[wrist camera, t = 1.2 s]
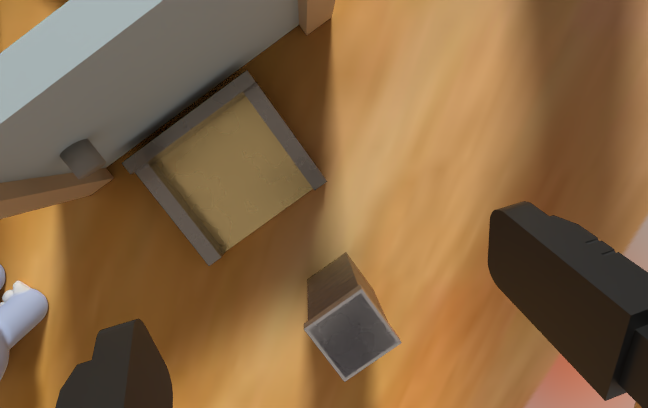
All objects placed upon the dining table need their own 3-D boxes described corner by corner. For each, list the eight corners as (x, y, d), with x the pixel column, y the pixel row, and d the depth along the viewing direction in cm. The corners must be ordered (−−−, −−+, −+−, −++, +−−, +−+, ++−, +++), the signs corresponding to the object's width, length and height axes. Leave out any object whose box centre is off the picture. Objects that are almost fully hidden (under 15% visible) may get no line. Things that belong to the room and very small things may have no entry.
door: (301, -28, 34) (297, -237, 15) (336, 23, 35) (373, -115, 16) (57, 154, 35) (-229, 172, 16) (95, 201, 36) (-138, 270, 17)
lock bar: (346, 249, 37) (361, 288, 27) (376, 289, 38) (401, 342, 28) (304, 279, 37) (303, 329, 28) (334, 318, 38) (344, 381, 28)
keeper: (251, 76, 35) (246, 70, 32) (325, 179, 36) (327, 182, 33) (136, 161, 35) (121, 163, 32) (214, 259, 37) (206, 269, 34)
